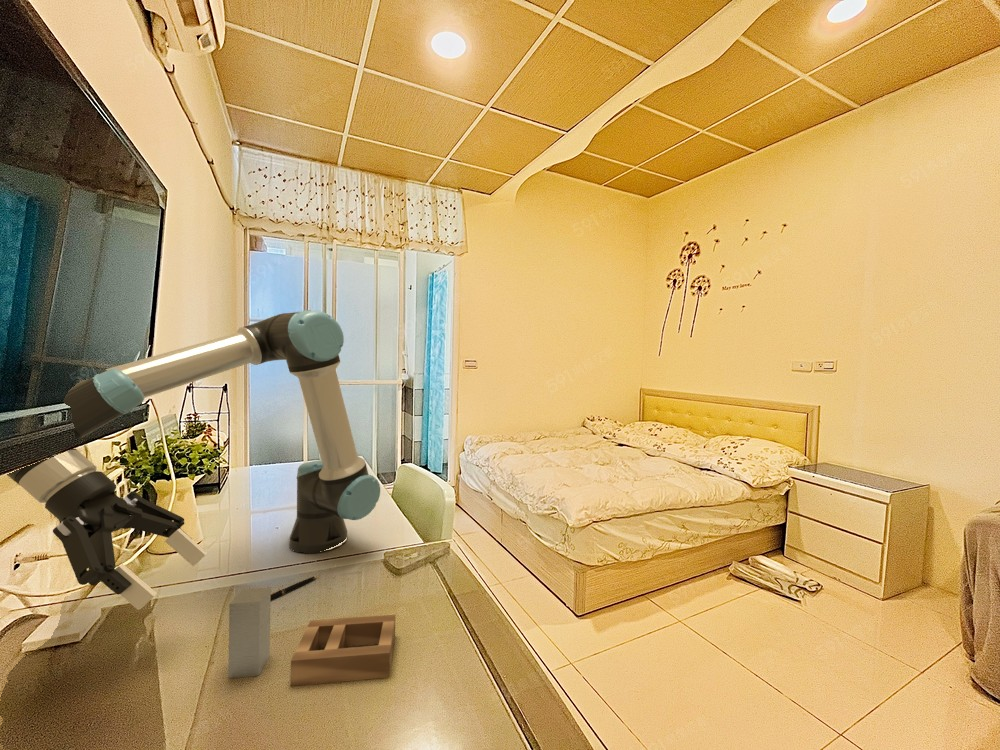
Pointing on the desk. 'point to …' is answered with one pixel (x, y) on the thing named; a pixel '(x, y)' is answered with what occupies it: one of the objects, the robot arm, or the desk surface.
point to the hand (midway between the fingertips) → (177, 578)
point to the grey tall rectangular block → (249, 632)
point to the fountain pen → (290, 588)
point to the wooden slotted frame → (344, 650)
